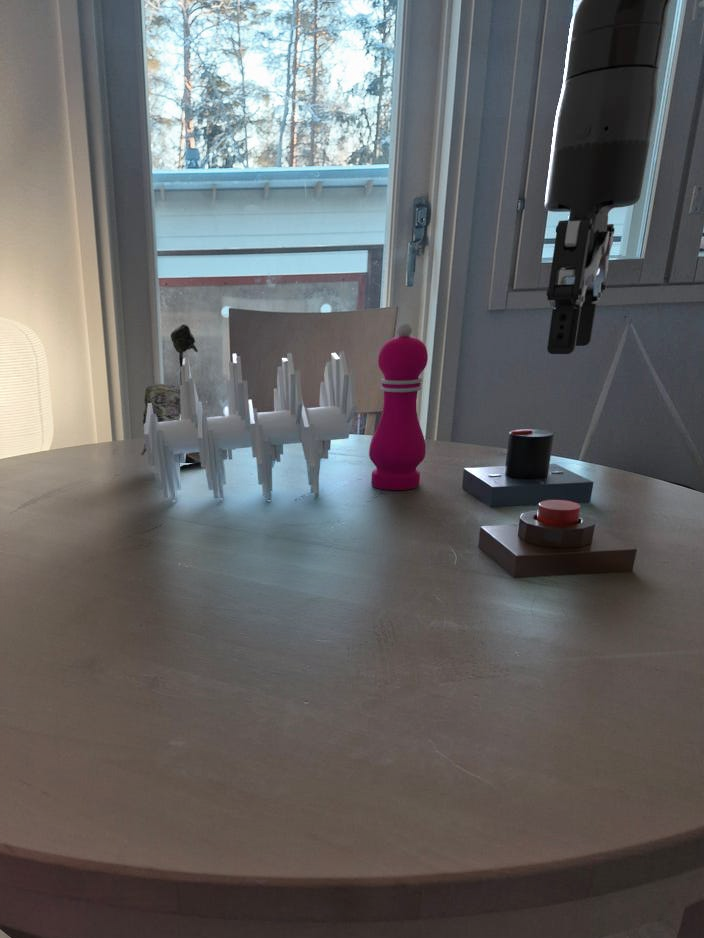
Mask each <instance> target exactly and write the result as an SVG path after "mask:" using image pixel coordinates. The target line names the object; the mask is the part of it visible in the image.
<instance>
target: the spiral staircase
mask: <svg viewBox="0 0 704 938" xmlns="http://www.w3.org/2000/svg"><path fill="white" fill-rule="evenodd" d="M330 353H331V355H330V356H331V359H330V361H326V364H325V367H324V372H323V380H324V381H320V385H319V386H320V387H319V402H318V403H319V405H318V406H319V407H318V406H317V407H305V404H304V400H303V392H302V381H301V370H300V369H295V368H294V367H295V366H294V361H293V355H292V352H287V353H286V356H287V357H281V366H277V374H276V385H277V386H276V387H277V388H273V408H274V409H273V411H263V412H258V408H254V407H253V400H252V399H250V398H249V389H248V380H243V374H242V361H241V355H237V353H232V361H229V362H228V367H229V368H228V371H229V378H226V379H225V382H226V394H227V395H226V397H227V406H225V407H224V415H221V416H219V415H218V416H209V417H208V416H207V415H208V414H207V413H206V412H204V411H203V403H202V402H203V401H202V400H199V395H198V392H197V388H196V384H195V379H194V378H192V372H191V365H190V357H188V356H185V357H184V356H183V364H182V366H181V367H180V366H179V370H180V369H181V381H180V383H181V382H182V385H181V384H180V385H179V388H180V402H181V414H180V418H179V420H175V421H164V422H158V420H157V416H156V414H153V407H152V403H148V406H147V414H146V423H145V424H144V425H143V436H144V445H145V446H146V451H145V452H146V455H147V459H148V465H149V467H153V475H154V478H155V481H156V484H157V488H158V491H163V499H170V498H171V501H172V500H176V497H177V498H178V491H182V483H181V467H180V463H185V458H186V454H189V453H193V452H200V459H201V462H200V467H201V469H205V476H206V481H207V486H208V491H212V492H213V498H214V499H218V498H219V499H220V498H223V499H224V485H227V480H226V477H227V476H226V467H225V460H229V461H230V460H231V461H232V460H233V451H234V450H236V449H247V448H251V454H252V458H256V459H255V460H256V470H257V481H258V482H257V483H258V485H259V486H260V485H261V488H262V490H261V491H262V496H264V497H265V496H266V499H267V500H271V501H272V492H273V468H275V464H276V463H280V462H281V455H284V445H292V444H301V446H302V451H303V455H304V456H303V457H304V459H305V462H306V470H307V479H308V485H309V486H310V487H309V488H310V494H313V497H314V499H315V498H319V499H320V497H319V496H320V469H321V460H323V459H324V460H327V459H329V451H331V444H332V441H337V440H348V439H349V438H350V428H351V427H350V424H351V421H352V419H353V418H354V415H355V413H356V410H357V407H358V401H357V389H356V376H355V375H356V374H355V370H352V371H349V370H348V366H347V361H346V355H345V351H344V350H340V351H339V354H337V352H330ZM338 355H339V356H338ZM271 491H272V492H271ZM267 500H266V501H267Z"/></svg>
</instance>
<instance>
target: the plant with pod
mask: <svg viewBox="0 0 704 938" xmlns="http://www.w3.org/2000/svg"><path fill="white" fill-rule="evenodd" d="M170 340H171V342H172V343H173V347H174V350H175V351H176V352H177V353H179V354H178V355H179V357H178V360H179V378H180V379H179V381H180V386H181V385H182V382H181V369H180V367H181V366H182V364H183V359H184V356H183V355H184V353H185V352H187V351H189V350H193V351H194V352H195V353H197V352H198V351H199V350H198V348H197V346H196V345H195V343H196V339H195V337H194V335H193V333H192V331H191V329H190V327H189V326H188V325H187V324H185V323H184V324H181V325H180V326H178V327H177V328H175V329H174V330H173V331H172V332H171V333H170ZM180 386H175V385H170V384H164V383H153V384H149V385H148V386H147V387H146V388H145V393H144V405H145V406H144V407H145V408H144V411H143V420H142V425H143V426H144V424H145V423H146V414H147V406H148V403H152V407H153V414H156V416H157V420H158V422H164V421H175V420H179V418H180V414H181V402H180ZM146 452H147V451H146V446H145V444H144V445H143V448H142V450H141V452H140V456H143V455H145V453H146ZM185 463H194V464H196V463H201V459H200V452H193V453H189V454H186V458H185Z"/></svg>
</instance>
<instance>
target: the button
mask: <svg viewBox="0 0 704 938" xmlns="http://www.w3.org/2000/svg"><path fill="white" fill-rule="evenodd" d="M581 508H582V506H581V505H580V503H575V502H571V501H565V500H546V501H542V502H540V503H539V505H538V508H537V510H538V513H537V520H536V521H538V522H542V523H545V524H550V525H561V526H563V525H576V524H578V520H579V514H580V513H581Z"/></svg>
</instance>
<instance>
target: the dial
mask: <svg viewBox="0 0 704 938" xmlns="http://www.w3.org/2000/svg"><path fill="white" fill-rule="evenodd" d="M554 438H555V433H554V432H553V431H551V430H547V429H534V428H523V429H520V428H519V429H514V430H510V431H509V434H508V441H507V448H506V449H507V450H506V457H505V465H504V466H505V472H504V473H505V475H507V476H509V477H513V478H520V479H539V478H544V477H547V476H548V471H549V464H551V463H550V462H551V457H552V451H553V445H554Z"/></svg>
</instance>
